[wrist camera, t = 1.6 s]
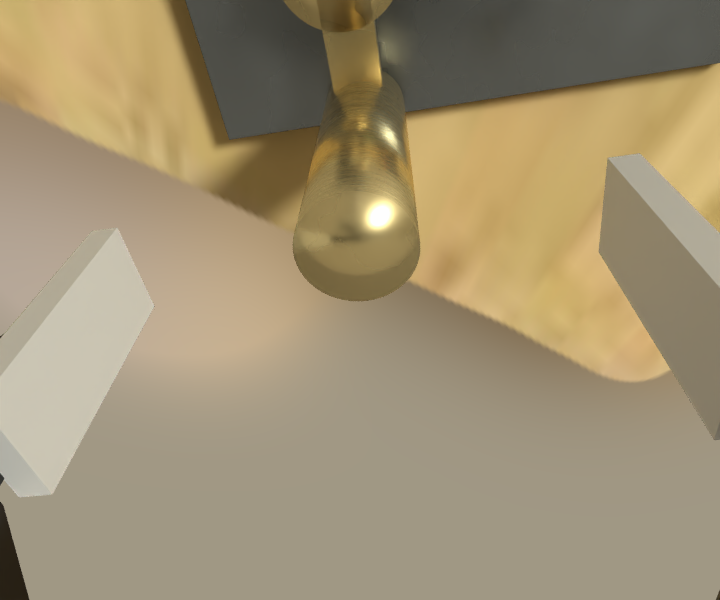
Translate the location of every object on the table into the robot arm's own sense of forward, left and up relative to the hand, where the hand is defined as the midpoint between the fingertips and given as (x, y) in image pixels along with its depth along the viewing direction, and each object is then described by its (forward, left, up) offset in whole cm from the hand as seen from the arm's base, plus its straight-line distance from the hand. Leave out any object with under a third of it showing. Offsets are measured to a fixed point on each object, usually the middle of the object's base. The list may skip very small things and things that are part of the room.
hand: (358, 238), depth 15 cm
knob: (-3, 0, -10) cm, 10 cm away
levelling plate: (-10, +5, -11) cm, 16 cm away
